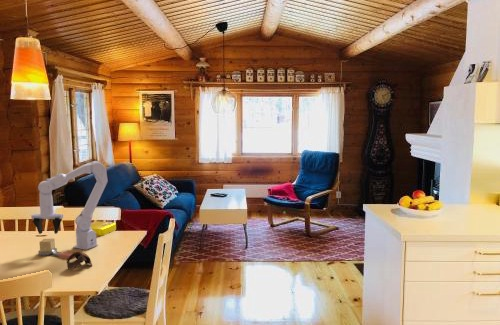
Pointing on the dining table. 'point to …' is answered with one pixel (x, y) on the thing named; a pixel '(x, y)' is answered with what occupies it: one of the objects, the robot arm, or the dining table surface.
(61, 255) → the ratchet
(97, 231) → the element tile
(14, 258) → the dining table surface
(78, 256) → the brown arched piece
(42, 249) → the wooden cube
